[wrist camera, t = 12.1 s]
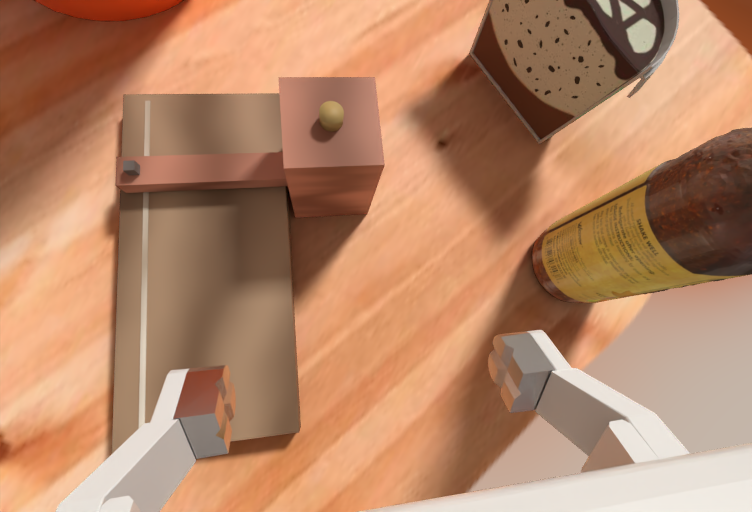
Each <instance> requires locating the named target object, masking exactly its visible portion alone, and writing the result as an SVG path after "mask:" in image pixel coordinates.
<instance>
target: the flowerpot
mask: <svg viewBox="0 0 752 512" xmlns="http://www.w3.org/2000/svg"><path fill="white" fill-rule="evenodd" d="M34 1H36V2H38V3H40V4H42V5H44V6H46V7H48V8H50V9H52V10H54V11H57V12H60V13H63V14H67V15H70V16H73V17H76V18H83V19H90V20H97V21H125V20H131V19H137V18H143V17H148V16H151V15H153V14H156V13H159V12H162V11H165V10H168V9H170V8H171V7H173V6H175V5H177V4H179V3H180V2H182V1H184V0H34Z"/></svg>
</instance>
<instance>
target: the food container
mask: <svg viewBox="0 0 752 512" xmlns="http://www.w3.org/2000/svg"><path fill="white" fill-rule="evenodd" d="M678 22H679V7H678V0H490V1H489V3H488V6H487V8H486V11H485V14H484V16H483V19H482V22H481V24H480V27H479V29H478V32H477V35H476V37H475V40H474V42H473V45H472V48H471V50H470V53H469V54H470V55H471V56H472V58H473V59H474V60H475V62H476V63H477V64H478V65H479V67H480V68H481V69H482V71H483V72H484V73H485V74H486V76H487V77H488V78H489V80H490V81H491V82H492V84H493V85H494V86H495V87H496V89H497V90H498V91H499V93H500V94H501V95H502V97H503V98H504V99H505V100H506V102H507V103H508V104H509V106H510V107H511V108H512V109H513V111H514V112H515V113H516V115H517V116H518V117H519V119H520V120H521V121H522V122H523V124H524V125H525V126H526V128H527V129H528V130H529V131H530V133H531V134H532V135H533V137H534V138H535V139H536V141H537V142H538V143H539V144H541V143H542V142H544V141H545V140H547V139H548V138H550V137H551V136H553V135H554V134H556V133H557V132H559V131H560V130H562V129H563V128H565V127H566V126H568V125H569V124H571V123H572V122H574V121H575V120H577V119H578V118H580V117H581V116H583V115H584V114H586V113H587V112H589V111H590V110H592V109H593V108H595V107H596V106H598V105H599V104H601V103H602V102H604V101H605V100H607V99H608V98H610V97H611V96H613V95H614V94H616V93H617V92H619V91H620V90H622V89H623V88H625V87H626V86H628V85H629V84H631V83H632V82H634V81H635V80H637V79H638V78H641V80H640V81H639V83H638V84H637V85H636V86H635V87H634V89H633V90H632V91H631V92H630V94H629V95H628V96H627V97H629V98H630V97H631V96H632V95H634V94H635V93H636V92H637V91H638V90H639V89H640V88H641V87H642V86H643V85H644V83H645V82H646V81H647V80H648V79H649V78H650V76H651V75H652V74H653V73H654V72H655V70H656V69H657V68H658V67H659V66H660V64H661V63H662V62H663V60H664V58H665V56H666V54H667V52H668V51H669V49H670V47H671V45H672V43H673V42H674V40H675V36H676V33H677V29H678Z"/></svg>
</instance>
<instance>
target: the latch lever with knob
mask: <svg viewBox="0 0 752 512" xmlns="http://www.w3.org/2000/svg"><path fill="white" fill-rule="evenodd" d="M279 93H280V111H281V129H282V147H283V152H271V153H236V154H202V155H167V156H133V157H117V164H116V186H117V187H118V188H120V189H121V190H123V191H124V192H125V193H139V192H163V191H187V190H211V189H234V188H258V187H282V186H288V189H289V193H290V197H291V201H292V205H293V210H294V214H295V218H302V217H321V216H339V215H358V214H367V213H368V210H369V208H370V205H371V202H372V199H373V196H374V193H375V191H376V188H377V185H378V182H379V179H380V176H381V173H382V171H383V168H384V156H383V147H382V138H381V128H380V119H379V110H378V101H377V92H376V83H375V77H286V78H279Z"/></svg>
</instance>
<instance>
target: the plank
mask: <svg viewBox="0 0 752 512" xmlns="http://www.w3.org/2000/svg"><path fill="white" fill-rule="evenodd" d="M271 152H283V147H282V129H281V111H280V94H132V95H124V98H123V129H122V157H133V156H167V155H202V154H236V153H271ZM221 365H228V367H229V370H230V379H229V381H230V382H232V383H233V384H234V388H235V395H236V407H235V415H234V417H233V419H232V420H231V421H230V426H231V429H232V434H231V441H239V440H246V439H253V438H261V437H268V436H276V435H283V434H290V433H298V432H299V431H300V427H301V424H300V406H299V388H298V370H297V353H296V335H295V317H294V299H293V282H292V264H291V246H290V228H289V211H288V193H287V186H282V187H258V188H234V189H211V190H187V191H163V192H139V193H125V192H124V191H123V190H120V220H119V250H118V281H117V311H116V342H115V372H114V403H113V433H112V454H113V453H114V452H115V451H116V450H117V449H118V448H119V447H120V446H121V445H122V444H123V443H124V442H125V441H126V440H127V439H128V438H129V437H130V436H131V435H133V434H134V433H135V432H136V431H137V430H138V429H139V428H140V427H141V426H142V425H143V424H144V423H150V421H151V418H152V416H153V413H154V410H155V407H156V404H157V401H158V399H159V396H160V393H161V390H162V387H163V384H164V382H165V379H166V376H167V374H168V373H169V372H170V371H171V370H178V369H189V368H198V367H210V366H221ZM231 441H230V442H231Z"/></svg>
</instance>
